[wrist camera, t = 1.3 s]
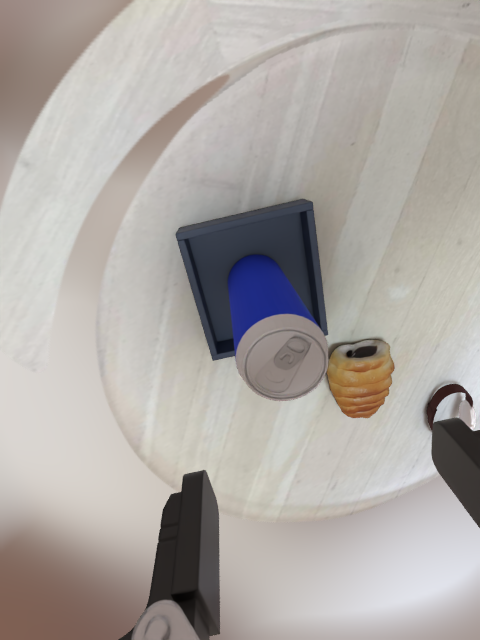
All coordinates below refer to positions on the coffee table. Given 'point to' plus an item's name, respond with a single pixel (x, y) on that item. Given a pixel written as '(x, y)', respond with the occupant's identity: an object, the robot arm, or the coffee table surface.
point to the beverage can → (274, 332)
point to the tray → (243, 240)
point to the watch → (465, 407)
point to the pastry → (360, 377)
